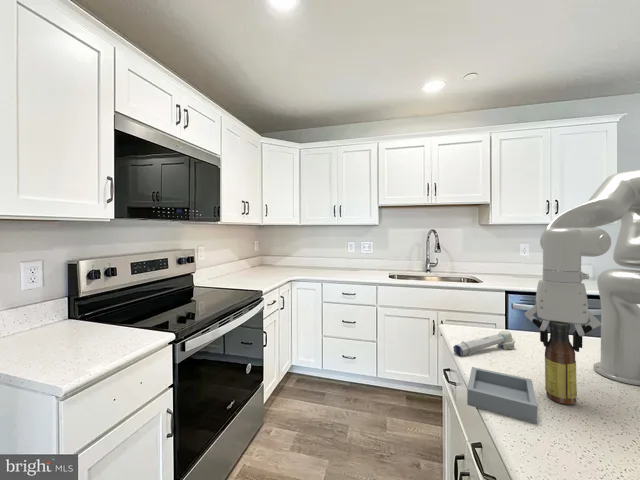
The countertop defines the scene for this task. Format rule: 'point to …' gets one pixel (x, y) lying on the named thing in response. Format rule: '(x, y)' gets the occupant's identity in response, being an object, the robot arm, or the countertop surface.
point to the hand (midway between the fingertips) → (560, 346)
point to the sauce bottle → (560, 365)
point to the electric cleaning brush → (485, 343)
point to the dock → (502, 394)
